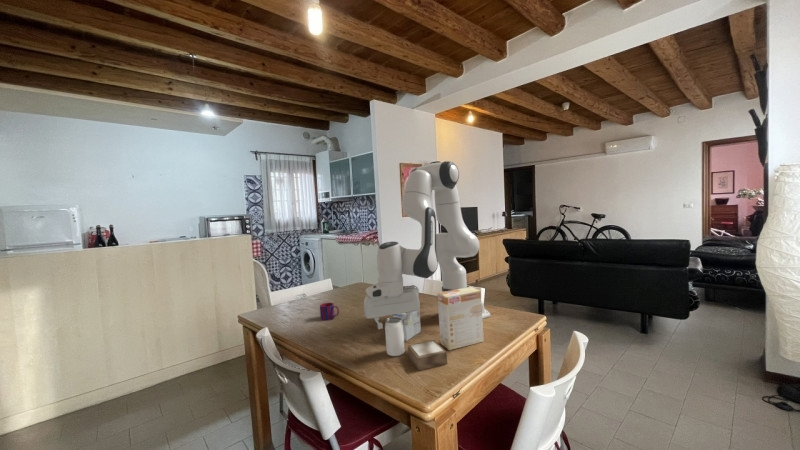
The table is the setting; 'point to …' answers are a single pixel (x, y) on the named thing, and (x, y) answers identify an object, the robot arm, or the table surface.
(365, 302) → the robot arm
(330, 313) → the mug
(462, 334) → the coffeecake box
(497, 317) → the table surface
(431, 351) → the base block
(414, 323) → the light bulb box
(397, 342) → the can
